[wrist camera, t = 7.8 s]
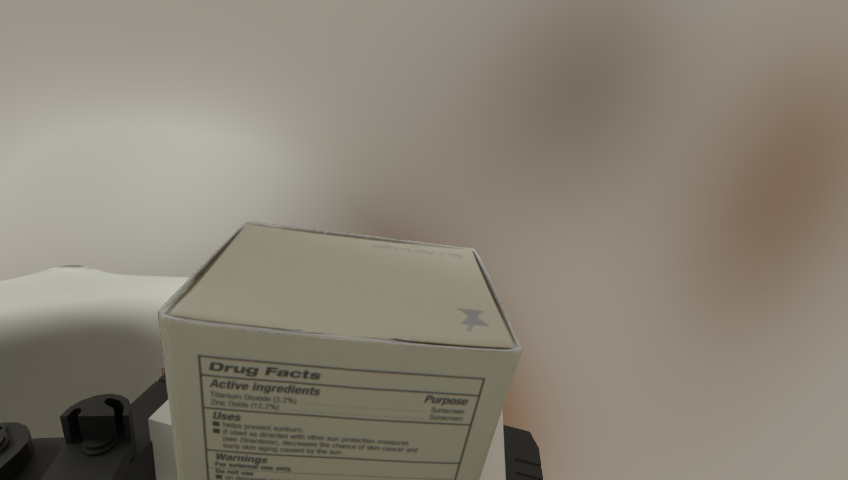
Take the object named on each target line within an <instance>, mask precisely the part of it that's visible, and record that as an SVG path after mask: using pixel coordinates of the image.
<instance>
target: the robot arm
mask: <svg viewBox="0 0 848 480" xmlns="http://www.w3.org/2000/svg"><path fill="white" fill-rule="evenodd" d="M60 418H61V423H62V428H63V432H64V437H65V438H36V439H31V435H30V432H29V430H28V428H27V426H25V425H22V424H20V423H1V424H0V480H178V475H177V465H176V458H175V451H174V441H173V432H172V423H171V414H170V407H169V399H168V393H167V385H166V375H165V374H164V375H163V376H162V377H161V378H160V379H159V381H158V382H155V383H154V384H153V385H152V386H151V387H149V388H148V389H147V390H146V391H145V392H144V393H143V394H142V395H141V396H139V397H138V398H137V399H136V400H135V401H134V402H133V403H132V404H130V403H129V400H128V399H126V398H124V397H123V396H121V395H114V394H105V395H97V396H94V397H91V398H88V399H85V400H82V401H80V402H78V403H77V404H75V405H73V406H71V407H70V408H69V409H68V410H66V411H65V412H64V413H63V414H62V415H61V416H60ZM539 455H540V454H539V448H538V446H537V444H536V442H535V441H534V439H533V437H532V435H531V433H530V432H528V431H525V430H521V429H517V428H513V427H509V426H505V425H503V411H502V412H501V415H500V418H499V421H498V424H497V427H496V430H495V434H494V436H493V439H492V442H491V445H490V448H489V451H488V455H487V458H486V461H485V464H484V467H483V470H482V473H481V476H480V479H479V480H543V476H542V469H541V461H540V456H539Z"/></svg>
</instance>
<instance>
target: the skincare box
mask: <svg viewBox="0 0 848 480" xmlns="http://www.w3.org/2000/svg"><path fill="white" fill-rule="evenodd" d="M158 319H159V327H160V334H161V342H162V349H163V357H164V366H165V375H166V385H167V393H168V399H169V407H170V414H171V423H172V432H173V441H174V451H175V458H176V465H177V475H178V480H479V479H480V476H481V473H482V470H483V467H484V464H485V461H486V458H487V455H488V451H489V448H490V445H491V442H492V439H493V436H494V434H495V430H496V427H497V424H498V421H499V418H500V415H501V412H502V409H503V406H504V403H505V400H506V397H507V394H508V391H509V388H510V385H511V382H512V379H513V376H514V373H515V370H516V368H517V365H518V361H519V359H520V355H521V352H522V348H521V346H520V344H519V342H518V340H517V338H516V336H515V333H514V331H513V328H512V325H511V323H510V321H509V318H508V316H507V315H506V312H505V309H504V307H503V305H502V302H501V300H500V298H499V296H498V294H497V292H496V289H495V287H494V285H493V283H492V280H491V278H490V276H489V274H488V272H487V270H486V268H485V266H484V264H483V262H482V260H481V258H480V256H479V254H478V252H477V251H476V250H475V249H472V248H465V247H455V246H447V245H439V244H431V243H424V242H416V241H408V240H397V239H390V238H382V237H376V236H365V235H357V234H351V233H342V232H332V231H325V230H317V229H307V228H298V227H290V226H283V225H276V224H267V223H260V222H246V223H244V224H243V225H242V226H241V227H240V228H239V229H238V230H237V231H236V232H235V233H234V234H233V235H232V236H231V237H230V238H229V239H228V240H227V241H226V242H225V243H224V244H223V245H222V246H221V247H220V248H219V249H218V250H217V251H216V252H215V253H214V254H213V255H212V256H211V257H210V258H209V259H208V260H207V261H206V262H205V263H204V264H203V265H202V266H201V267H200V268H199V269H198V270H197V271H196V272H195V273H194V274H193V275H192V276H191V277H190V278H189V279H188V280H187V282H186V283H185V284H184V285H183V286H182V287H181V288H180V289H179V290H178V291H177V292H176V293H175V294H174V295H173V296H172V297H171V298H170V299H169V300H168V301H167V302H166V303H165V305H164V306H163V307H162V308H161V309H160V310H159V312H158Z"/></svg>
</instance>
